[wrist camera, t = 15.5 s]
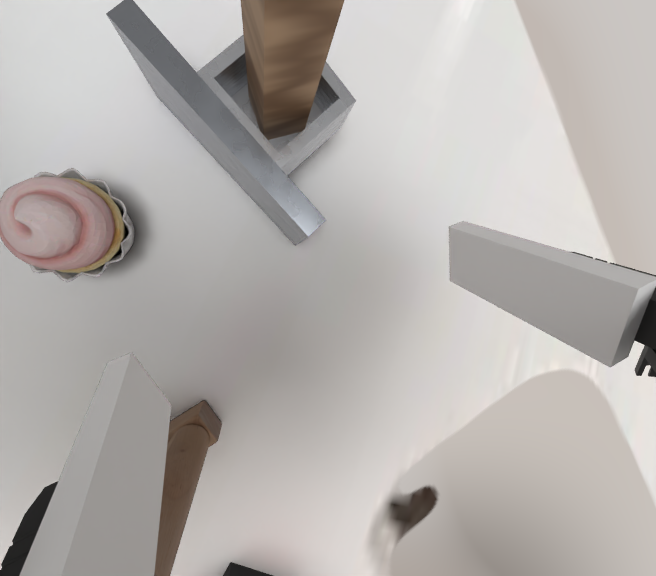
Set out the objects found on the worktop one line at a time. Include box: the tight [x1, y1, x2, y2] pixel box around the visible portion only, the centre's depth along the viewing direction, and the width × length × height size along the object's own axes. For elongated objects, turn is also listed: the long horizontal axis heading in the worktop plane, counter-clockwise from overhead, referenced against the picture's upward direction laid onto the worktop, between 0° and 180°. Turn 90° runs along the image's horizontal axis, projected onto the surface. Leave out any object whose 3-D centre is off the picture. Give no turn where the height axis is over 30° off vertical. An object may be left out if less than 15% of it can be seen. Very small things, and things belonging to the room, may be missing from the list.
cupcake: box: [0, 168, 134, 282], centre depth 25 cm, size 9×9×10 cm
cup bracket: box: [106, 0, 356, 245], centre depth 28 cm, size 20×11×10 cm, turn 43°
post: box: [241, 0, 344, 140], centre depth 20 cm, size 4×4×15 cm
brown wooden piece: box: [154, 401, 222, 576], centre depth 24 cm, size 4×11×18 cm, turn 120°
